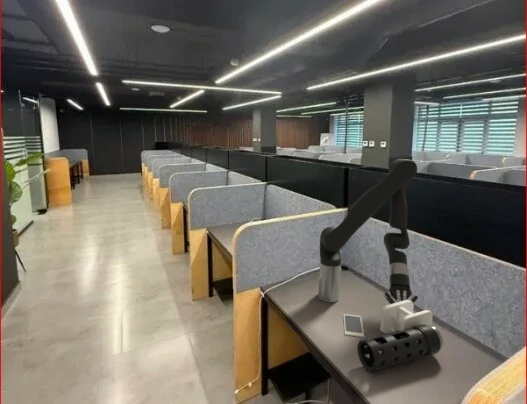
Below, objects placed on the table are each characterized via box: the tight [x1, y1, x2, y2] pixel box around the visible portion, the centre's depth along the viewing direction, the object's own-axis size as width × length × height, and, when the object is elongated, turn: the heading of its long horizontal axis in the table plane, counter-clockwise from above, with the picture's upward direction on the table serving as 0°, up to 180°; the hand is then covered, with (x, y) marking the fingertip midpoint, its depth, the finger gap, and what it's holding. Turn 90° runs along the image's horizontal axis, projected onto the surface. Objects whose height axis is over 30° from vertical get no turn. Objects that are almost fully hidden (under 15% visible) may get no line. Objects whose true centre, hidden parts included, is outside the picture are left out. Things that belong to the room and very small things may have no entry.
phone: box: [343, 313, 365, 339], centre depth 122 cm, size 7×14×1 cm, turn 168°
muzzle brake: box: [356, 324, 444, 372], centre depth 102 cm, size 10×28×10 cm, turn 110°
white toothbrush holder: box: [379, 299, 434, 335], centre depth 115 cm, size 15×11×12 cm
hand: (402, 318), depth 119 cm, fingers closed
